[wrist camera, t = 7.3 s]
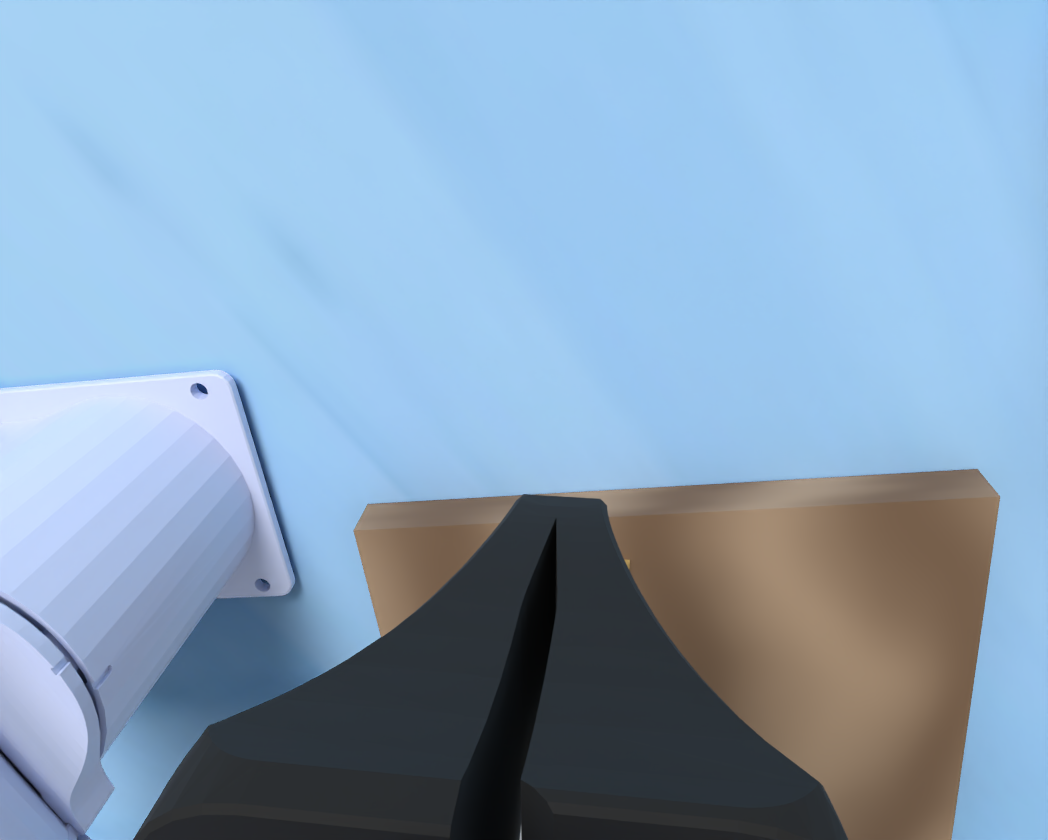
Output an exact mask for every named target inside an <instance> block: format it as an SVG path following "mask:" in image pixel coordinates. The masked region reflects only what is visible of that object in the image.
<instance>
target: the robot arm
mask: <svg viewBox="0 0 1048 840" xmlns="http://www.w3.org/2000/svg"><path fill="white" fill-rule="evenodd" d="M197 383H200V384H202V385H204V386H205V387H206V389H207V390H208V394H203V393H202V392H201V391H199V389H198V388H197ZM260 579H265V580H266V581H268V582H269V584H265V583H263V582H262V581H261V580H260ZM294 584H295V577H294V573H293V570H292V567H291V563H290V560H289V557H288V554H287V550H286V547H285V544H284V540H283V537H282V534H281V530H280V527H279V524H278V521H277V517H276V514H275V511H274V507H273V504H272V501H271V498H270V494H269V491H268V488H267V484H266V481H265V478H264V475H263V471H262V468H261V465H260V461H259V458H258V455H257V452H256V448H255V445H254V442H253V438H252V435H251V432H250V429H249V425H248V422H247V419H246V415H245V412H244V409H243V406H242V402H241V399H240V396H239V392H238V389H237V386H236V383H235V381H234V379H233V378H232V377H231V376H230V375H229V374H228V373H226V372H224V371H222V370H207V371H195V372H183V373H172V374H160V375H149V376H137V377H126V378H114V379H102V380H91V381H79V382H68V383H56V384H45V385H33V386H21V387H10V388H0V840H92V839H90V838H89V837H88V836H87V835H86V834H85V833H86V831H87V830H88V828H89V827H90V825H91V824H92V822H93V821H94V819H95V818H96V816H97V815H98V813H99V812H100V810H101V809H102V807H103V806H104V804H105V803H106V801H107V800H108V798H109V797H110V795H111V794H112V792H113V791H114V786H113V784H112V783H111V781H110V780H109V778H108V777H107V776H106V774H105V772H104V770H103V768H102V765H101V762H100V760H101V759H102V758H103V756H104V755H105V753H106V752H107V751H108V749H109V748H110V746H111V745H112V744H113V742H114V741H115V739H116V738H117V737H118V735H119V734H120V732H121V731H122V730H123V728H124V727H125V725H126V724H127V722H128V721H129V720H130V718H131V717H132V715H133V714H134V713H135V711H136V710H137V708H138V707H139V706H140V704H141V703H142V701H143V700H144V699H145V697H146V696H147V694H148V693H149V692H150V690H151V689H152V687H153V686H154V684H155V683H156V682H157V680H158V679H159V677H160V676H161V675H162V673H163V672H164V670H165V669H166V668H167V666H168V665H169V663H170V662H171V661H172V659H173V658H174V656H175V655H176V654H177V652H178V651H179V649H180V648H181V647H182V645H183V644H184V642H185V641H186V639H187V638H188V637H189V635H190V634H191V632H192V631H193V630H194V628H195V627H196V625H197V624H198V623H199V621H200V620H201V618H202V617H203V616H204V614H205V613H206V611H207V610H208V609H209V607H210V606H211V604H212V603H213V601H214V600H215V599H218V598H243V597H268V596H283V595H287V594H288V593H289V592H290V591H291V589H292V588H293V586H294ZM520 831H521V838H522V840H848V838H847V835H846V833H845V831H844V828H843V826H842V824H841V821H840V819H839V817H838V815H837V813H836V811H835V809H834V807H833V805H832V803H831V801H830V799H829V797H828V795H827V793H826V791H825V789H824V787H823V785H822V784H821V783H820V782H819V781H817V780H816V779H815V778H814V777H812V776H811V775H810V774H808V773H807V772H806V771H804V770H803V769H802V768H800V767H799V766H798V765H797V764H795V763H794V762H793V761H791V760H790V759H789V758H787V757H786V756H785V755H783V754H782V753H781V752H780V751H778V750H777V749H776V748H774V747H773V746H772V745H770V744H769V743H768V742H766V741H765V740H764V739H763V738H762V737H761V736H759V735H758V734H757V733H756V732H755V731H754V730H753V729H752V728H750V727H749V726H748V725H747V724H746V723H745V722H744V721H743V720H742V719H740V718H739V717H738V716H737V715H736V714H735V713H734V712H733V711H732V710H731V709H730V707H729V706H728V705H727V704H726V703H725V702H724V701H723V700H722V699H721V698H720V697H719V696H718V695H717V694H716V693H715V692H714V691H713V690H712V689H711V688H710V687H709V685H708V684H707V683H706V682H705V681H704V680H703V679H702V678H701V677H700V676H699V675H698V673H697V672H696V671H695V670H694V668H693V667H692V666H691V665H690V664H689V662H688V661H687V660H686V659H685V657H684V656H683V655H682V654H681V652H680V651H679V650H678V648H677V647H676V646H675V644H674V643H673V642H672V640H671V639H670V638H669V636H668V635H667V633H666V632H665V630H664V629H663V627H662V626H661V625H660V623H659V621H658V620H657V618H656V617H655V615H654V614H653V612H652V610H651V609H650V607H649V605H648V604H647V602H646V600H645V599H644V597H643V595H642V594H641V592H640V590H639V588H638V586H637V584H636V583H635V581H634V579H633V577H632V575H631V573H630V570H629V568H628V566H627V564H626V562H625V560H624V558H623V556H622V554H621V551H620V549H619V547H618V544H617V541H616V539H615V536H614V533H613V531H612V527H611V524H610V521H609V516H608V511H607V505H606V504H605V503H604V502H603V501H602V500H601V499H597V498H580V497H562V496H544V495H527V494H523V495H522V496H521V497H520V498H518V499H517V500H516V501H515V503H514V504H513V506H512V507H511V509H510V510H509V512H508V513H507V514H506V516H505V517H504V518H503V520H502V521H501V522H500V524H499V525H498V526H497V527H496V529H495V530H494V531H493V532H492V534H491V535H490V536H489V537H488V538H487V540H486V541H485V542H484V543H483V544H482V545H481V546H480V548H479V549H478V550H477V551H476V552H475V553H474V554H473V556H472V557H471V558H470V559H469V560H468V561H467V562H466V563H465V564H464V566H463V567H462V568H461V569H460V570H459V571H458V572H457V573H456V574H455V575H454V576H453V577H452V578H451V579H450V580H449V581H448V582H446V583H445V584H444V585H443V586H442V587H441V588H440V589H439V590H438V591H437V592H436V593H435V594H434V595H433V596H432V597H431V598H430V599H429V600H428V601H426V602H425V603H424V604H423V605H422V606H421V607H420V608H418V609H417V610H416V611H415V612H414V613H413V614H411V615H410V616H409V617H408V618H406V619H405V620H404V621H403V622H401V623H400V624H399V625H398V626H396V627H395V628H394V629H392V630H391V631H390V632H388V633H387V634H385V635H384V636H383V637H381V638H380V639H378V640H376V641H375V642H373V643H372V644H370V645H369V646H367V647H366V648H364V649H363V650H361V651H360V652H358V653H357V654H355V655H354V656H352V657H351V658H349V659H348V660H346V661H344V662H343V663H341V664H339V665H337V666H336V667H334V668H332V669H330V670H329V671H327V672H325V673H323V674H322V675H320V676H318V677H316V678H314V679H312V680H310V681H308V682H306V683H304V684H303V685H301V686H299V687H297V688H295V689H293V690H291V691H289V692H287V693H285V694H282V695H280V696H278V697H276V698H274V699H272V700H269V701H267V702H265V703H262V704H260V705H258V706H255V707H253V708H251V709H248V710H246V711H244V712H241V713H239V714H237V715H234V716H232V717H230V718H227V719H225V720H223V721H220V722H217V723H215V724H212V725H210V726H208V727H207V728H206V730H205V731H204V733H203V734H202V736H201V737H200V738H199V740H198V741H197V742H196V743H195V745H194V746H193V747H192V749H191V750H190V751H189V752H188V754H187V755H186V756H185V758H184V759H183V761H182V762H181V764H180V765H179V767H178V768H177V770H176V771H175V773H174V774H173V776H172V777H171V779H170V780H169V782H168V784H167V785H166V787H165V788H164V790H163V792H162V793H161V795H160V797H159V798H158V800H157V802H156V803H155V805H154V806H153V808H152V810H151V811H150V813H149V815H148V816H147V818H146V820H145V821H144V823H143V824H142V826H141V828H140V829H139V831H138V833H137V834H136V836H135V838H134V839H133V840H520Z"/></svg>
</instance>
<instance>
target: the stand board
mask: <svg viewBox="0 0 1048 840" xmlns="http://www.w3.org/2000/svg"><path fill="white" fill-rule="evenodd" d="M536 495H544V496H562V497H580V498H597V499H601V500H602V501H603V502H604V503H605V504H606V505H607V511H608V516H609V521H610V524H611V527H612V531H613V533H614V536H615V539H616V541H617V544H618V547H619V549H620V551H621V554H622V556H623V558H624V560H625V562H626V564H627V566H628V568H629V570H630V573H631V575H632V577H633V579H634V581H635V583H636V584H637V586H638V588H639V590H640V592H641V594H642V595H643V597H644V599H645V600H646V602H647V604H648V605H649V607H650V609H651V610H652V612H653V614H654V615H655V617H656V618H657V620H658V621H659V623H660V625H661V626H662V627H663V629H664V630H665V632H666V633H667V635H668V636H669V638H670V639H671V640H672V642H673V643H674V644H675V646H676V647H677V648H678V650H679V651H680V652H681V654H682V655H683V656H684V657H685V659H686V660H687V661H688V662H689V664H690V665H691V666H692V667H693V668H694V670H695V671H696V672H697V673H698V675H699V676H700V677H701V678H702V679H703V680H704V681H705V682H706V683H707V684H708V685H709V687H710V688H711V689H712V690H713V691H714V692H715V693H716V694H717V695H718V696H719V697H720V698H721V699H722V700H723V701H724V702H725V703H726V704H727V705H728V706H729V707H730V709H731V710H732V711H733V712H734V713H735V714H736V715H737V716H738V717H739V718H740V719H742V720H743V721H744V722H745V723H746V724H747V725H748V726H749V727H750V728H752V729H753V730H754V731H755V732H756V733H757V734H758V735H759V736H761V737H762V738H763V739H764V740H765V741H766V742H768V743H769V744H770V745H772V746H773V747H774V748H776V749H777V750H778V751H780V752H781V753H782V754H783V755H785V756H786V757H787V758H789V759H790V760H791V761H793V762H794V763H795V764H797V765H798V766H799V767H800V768H802V769H803V770H804V771H806V772H807V773H808V774H810V775H811V776H812V777H814V778H815V779H816V780H817V781H819V782H820V783H821V784H822V785H823V787H824V789H825V791H826V793H827V795H828V797H829V799H830V801H831V803H832V805H833V807H834V809H835V811H836V813H837V815H838V817H839V819H840V821H841V824H842V826H843V828H844V831H845V833H846V835H847V838H848V840H951V838H952V831H953V824H954V817H955V810H956V803H957V796H958V789H959V782H960V775H961V768H962V761H963V754H964V747H965V740H966V733H967V726H968V719H969V712H970V705H971V698H972V691H973V684H974V677H975V670H976V663H977V656H978V649H979V642H980V635H981V628H982V620H983V613H984V606H985V599H986V592H987V585H988V578H989V571H990V564H991V557H992V550H993V543H994V536H995V529H996V522H997V515H998V508H999V501H1000V496H999V495H998V493H997V492H996V491H995V490H994V489H993V487H992V486H991V485H990V484H989V483H988V481H987V480H986V479H985V478H984V477H983V475H982V474H981V473H980V472H979V471H978V469H970V470H953V471H935V472H918V473H901V474H883V475H866V476H849V477H831V478H814V479H797V480H779V481H762V482H744V483H727V484H710V485H692V486H675V487H658V488H640V489H623V490H606V491H588V492H571V493H554V494H536ZM521 496H522V495H519V496H502V497H484V498H467V499H450V500H432V501H415V502H398V503H380V504H367V506H366V508H365V510H364V512H363V514H362V516H361V518H360V520H359V521H358V523H357V525H356V527H355V529H354V534H355V538H356V542H357V546H358V550H359V554H360V557H361V561H362V565H363V569H364V573H365V577H366V581H367V584H368V588H369V592H370V596H371V600H372V604H373V608H374V612H375V615H376V619H377V623H378V627H379V631H380V635H381V637H383V636H384V635H385V634H387V633H388V632H390V631H391V630H392V629H394V628H395V627H396V626H398V625H399V624H400V623H401V622H403V621H404V620H405V619H406V618H408V617H409V616H410V615H411V614H413V613H414V612H415V611H416V610H417V609H418V608H420V607H421V606H422V605H423V604H424V603H425V602H426V601H428V600H429V599H430V598H431V597H432V596H433V595H434V594H435V593H436V592H437V591H438V590H439V589H440V588H441V587H442V586H443V585H444V584H445V583H446V582H448V581H449V580H450V579H451V578H452V577H453V576H454V575H455V574H456V573H457V572H458V571H459V570H460V569H461V568H462V567H463V566H464V564H465V563H466V562H467V561H468V560H469V559H470V558H471V557H472V556H473V554H474V553H475V552H476V551H477V550H478V549H479V548H480V546H481V545H482V544H483V543H484V542H485V541H486V540H487V538H488V537H489V536H490V535H491V534H492V532H493V531H494V530H495V529H496V527H497V526H498V525H499V524H500V522H501V521H502V520H503V518H504V517H505V516H506V514H507V513H508V512H509V510H510V509H511V507H512V506H513V504H514V503H515V501H516V500H517V499H518V498H520V497H521Z"/></svg>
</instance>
